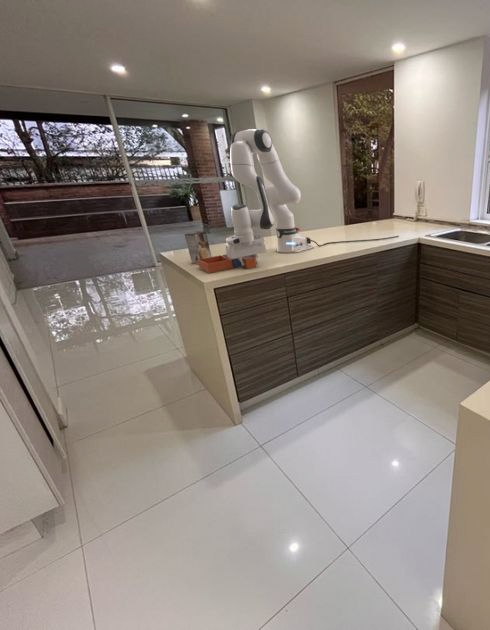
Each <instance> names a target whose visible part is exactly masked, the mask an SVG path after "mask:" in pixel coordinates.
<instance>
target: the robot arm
mask: <svg viewBox="0 0 490 630" xmlns="http://www.w3.org/2000/svg"><path fill="white" fill-rule="evenodd" d="M254 154H256V157H257V160H258V163H259V165H260V167H261V171H262V174H263V176H264V178H265V179H266V180H267V181H269V182H270V184H268V185H265V183H264V181H263V179H262V178H261V177H260V176H259V175H258V174H257V172H256V168H255V162H254V156H253V155H254ZM279 157H280V156H279V154H278V152H277V149H276V148H275V146H274V145H273V138H272V136H271V134H270V133H269V131H267V130H266V129H263V128H249V129H245V130H238V131H235V132H233V133H232V134H231V136H230V151H229V159H230V161H229V162H230V169H231V175H232V177H233V179H234V180H235V181H236V182H238V183H239V184H241V185H244V186H246V187H248V188H251V189H252V190H254V191H255V193H256V196H257V199H258V203H259V207H260V209H249V208H248V205H246V204H244V203H239V204H234V205H233V206H231V207H230V208H231V209H230V212H231V213H230V214H231V216H230V217H231V222H232V225H233V229H234V230H233V233H234V234H233V235H230V236H228V237H226V239H225V243H226V245H225V255H226V254H227V257H228V258H230V259H235V258H238V259H239V261H240V262H241V265H245V262H244V261H242V260H241V259H242V257H245V256H250V255H254V258H255V261H256V264H257V260H258V258H259V255H261V254H264V253H266V252H267V248H266V247H267V246H266V244H265V237H264V236H263V235H254V229H257V230H259V229H260V230H270V229H271V228H272V227H273V226H274V225H275V233H276V239H277V240H276V241H277V244H276V245H277V246H276V252H278V253H294V254H296V253H300V252H304V251H307V250H312V249H313V246H312V245H311V244H312V243H314V244H315V245H316V246H318V247H323V246H326V245H329V244H340V243H341V244H342V243H352V242H353V243H356V242H371V241H381V240H388V239H395V238H398V237H400V235H394V236H387V237H382V238H374V239H373V238H371V239H358V240H357V239H356V240H341V241H330V242H325V243H323V244H318V242H317V241H315V240H312V239H311V238H310V237H309V236H306V237H305V236H304V235H302V234H301V233H299V232H301V230H302V228H301V227H296V225H295V224H296V223H295V217H294V214H293V212H292V211H290V209H289V207H288V206H291V205H296V204H299V203H300V201H301V199H302V192H301V190H300V189H299V188H298V187H297V185H294V184H293V183H292V181H291V180H290V179H289V177H288V176H287V174H286V173H285V170H284V168H283V165H282V163H281V160H280V158H279Z"/></svg>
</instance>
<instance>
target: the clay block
mask: <svg viewBox="0 0 490 630" xmlns="http://www.w3.org/2000/svg"><path fill="white" fill-rule="evenodd" d="M242 261H244V262H245V265H243V266H242V267H243V268H245V269H247V270H248V269H254V268H257V263H256V261H255V258H254V257H251V256H249V257H244V258H242Z"/></svg>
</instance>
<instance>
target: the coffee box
mask: <svg viewBox="0 0 490 630" xmlns="http://www.w3.org/2000/svg"><path fill="white" fill-rule="evenodd" d="M184 237H185V242H186V245H187V250H188V254H189V258H190V261H191V263H192V264H196V265H197V264H198V259H203V258H209V257H212V253H211V249H210V244H209V240H208V235H207V232H206V231H202V230H201V231H199V230H198V231H197V230H196V231H192V232H188V233H184ZM198 265H199V264H198Z"/></svg>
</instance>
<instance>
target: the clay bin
mask: <svg viewBox="0 0 490 630" xmlns="http://www.w3.org/2000/svg"><path fill="white" fill-rule="evenodd" d="M198 268H199V269H200V270H202V271H204V272H207V273H208V274H211V273H218V272H221V271H226V270H227V271H228V270H232V269H234V267H233V264H232V260H231V259H229V258H226V257H224V256H222V255H216V256H211V257H209V258H203V259H198Z"/></svg>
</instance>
